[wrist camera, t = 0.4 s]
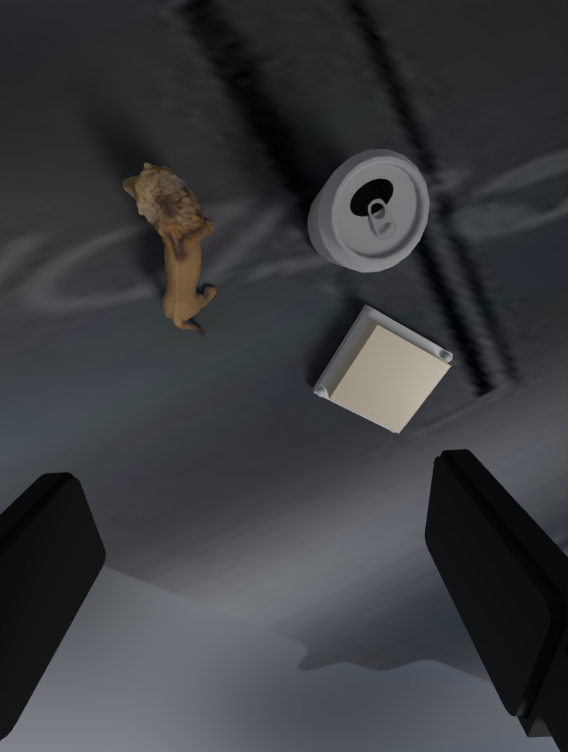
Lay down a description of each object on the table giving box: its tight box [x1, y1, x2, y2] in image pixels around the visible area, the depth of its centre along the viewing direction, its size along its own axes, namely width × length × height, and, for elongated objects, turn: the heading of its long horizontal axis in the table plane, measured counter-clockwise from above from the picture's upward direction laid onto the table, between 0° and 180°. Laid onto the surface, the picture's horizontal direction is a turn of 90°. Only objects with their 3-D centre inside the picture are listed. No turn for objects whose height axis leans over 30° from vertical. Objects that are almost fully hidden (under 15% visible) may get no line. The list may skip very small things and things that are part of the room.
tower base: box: [313, 304, 453, 433], centre depth 36 cm, size 11×11×4 cm
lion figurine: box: [123, 162, 216, 337], centre depth 29 cm, size 15×5×9 cm, turn 4°
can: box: [308, 149, 429, 272], centre depth 26 cm, size 8×8×12 cm
